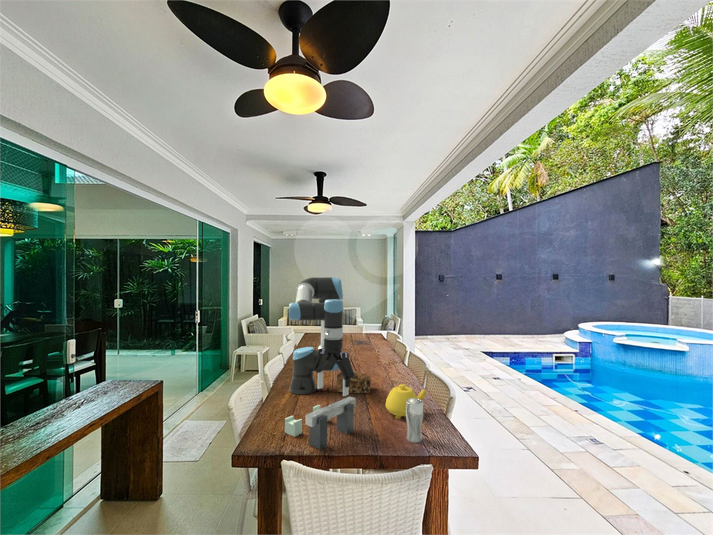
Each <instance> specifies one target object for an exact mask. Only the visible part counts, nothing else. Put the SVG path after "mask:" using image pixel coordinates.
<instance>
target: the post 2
mask: <svg viewBox="0 0 713 535" xmlns="http://www.w3.org/2000/svg"><path fill="white" fill-rule="evenodd" d="M354 409H355V407H354V404H350V405H348V406H346V411H345V412H343V413H341V414H339V415H337V416H336V432H339V433H342V434H345V435H349V434H350V433H352V432H354V413H355V411H354Z"/></svg>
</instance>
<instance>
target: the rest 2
mask: <svg viewBox="0 0 713 535" xmlns="http://www.w3.org/2000/svg"><path fill="white" fill-rule="evenodd" d="M321 408H322V407H321V404H317V405H315V406H313V407H312V412H314V411H316V410H319V409H321ZM329 421H330V419H328V420H327V422H329Z"/></svg>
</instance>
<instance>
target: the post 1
mask: <svg viewBox="0 0 713 535" xmlns="http://www.w3.org/2000/svg"><path fill="white" fill-rule="evenodd" d="M308 445H309V446H310V447H313V448H315V449H317V450H322V449H324V448H326V447H327V446H328V421H327V416H324V417H321V418H319V422H318V425H316V426H313V427H310V426H308Z"/></svg>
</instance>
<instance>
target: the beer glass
mask: <svg viewBox="0 0 713 535" xmlns="http://www.w3.org/2000/svg"><path fill="white" fill-rule="evenodd" d="M405 419H406V426H407V432H406V440H407V441H408V442H411V443H413V444H414V443H416V444H417V443H421V442H422V441H423V438H422V436H423V435H422V426H423V421H424V420H423V419H424V401H423V399H422V400H420V399H415V398H411V399H407V400H406V416H405Z"/></svg>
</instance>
